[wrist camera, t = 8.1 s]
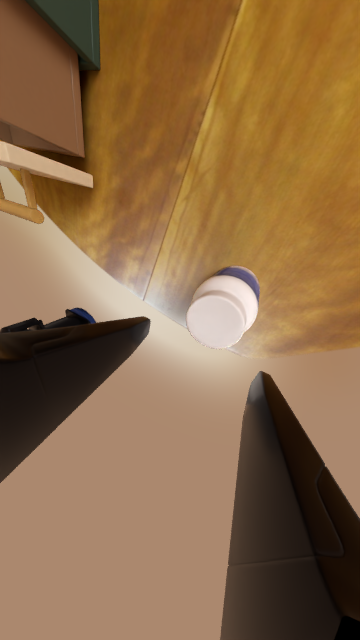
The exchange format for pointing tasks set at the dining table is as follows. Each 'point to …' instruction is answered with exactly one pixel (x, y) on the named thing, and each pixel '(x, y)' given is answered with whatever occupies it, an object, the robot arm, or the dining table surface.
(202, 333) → the pill bottle
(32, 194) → the drawer
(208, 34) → the dining table surface
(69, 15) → the cabinet
